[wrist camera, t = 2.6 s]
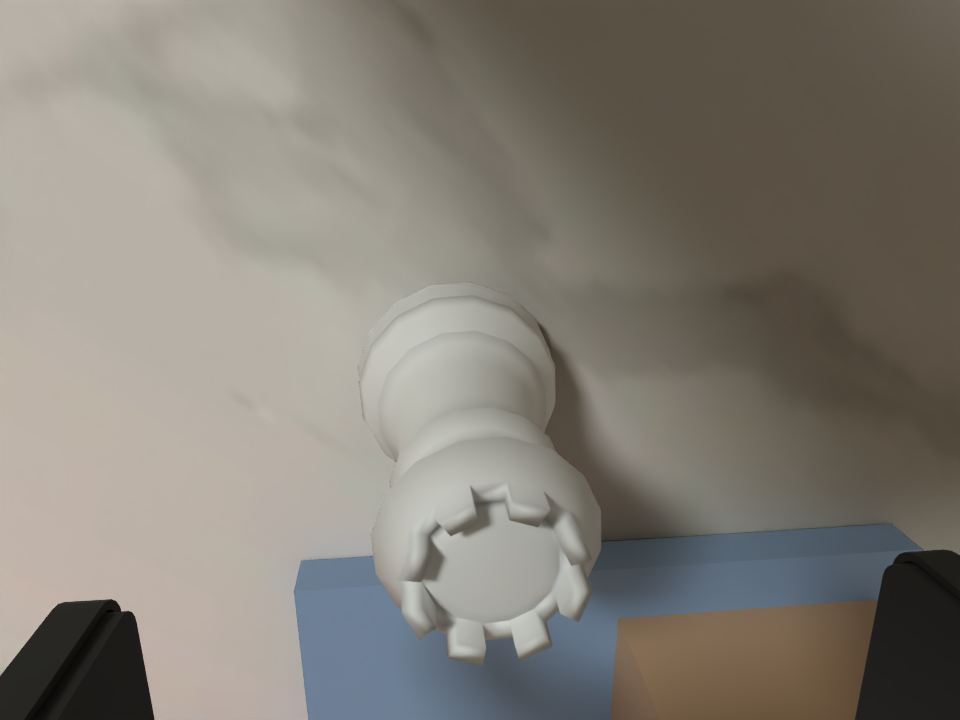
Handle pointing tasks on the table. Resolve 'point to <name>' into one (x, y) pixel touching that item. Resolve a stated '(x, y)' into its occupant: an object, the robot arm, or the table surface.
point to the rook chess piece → (474, 473)
